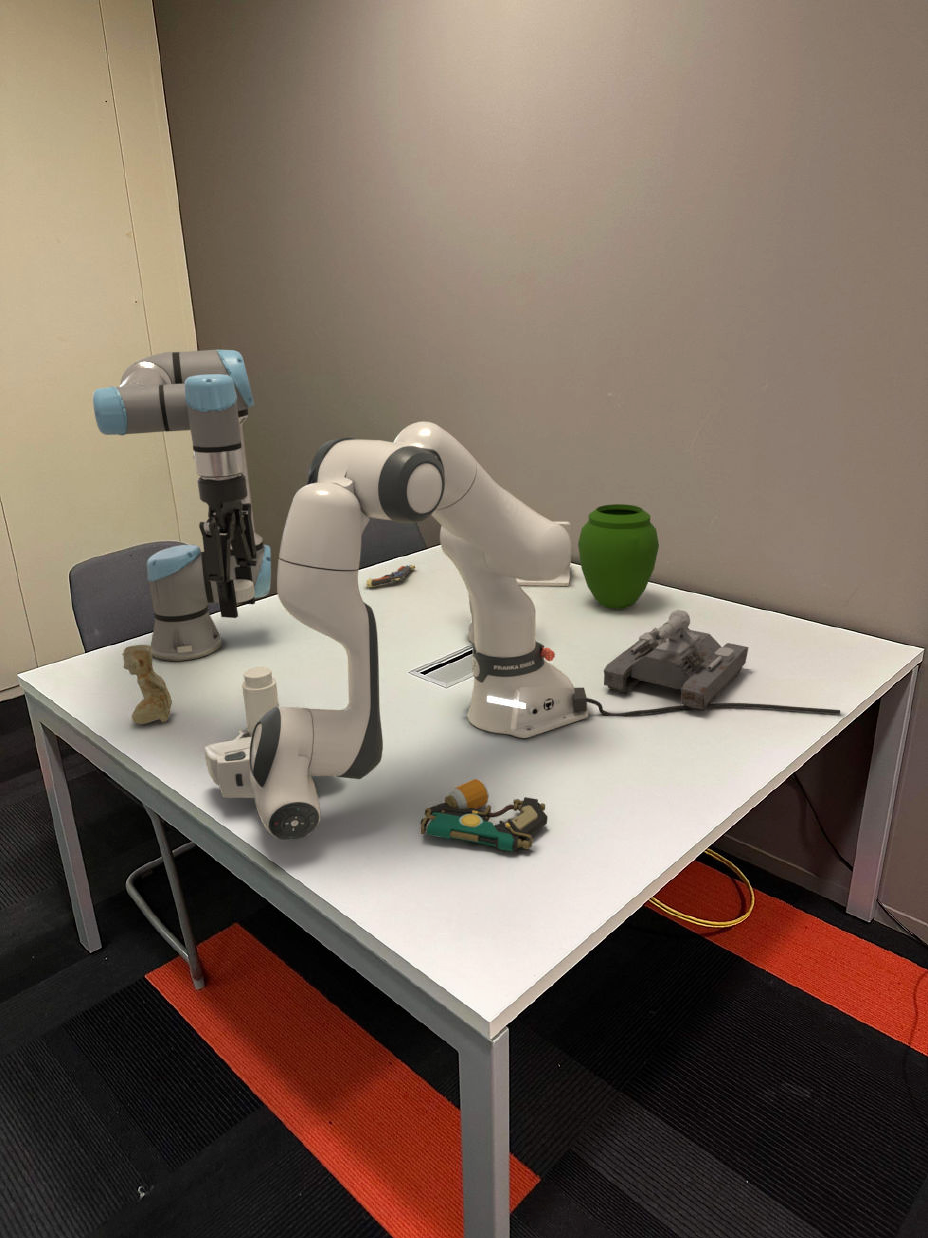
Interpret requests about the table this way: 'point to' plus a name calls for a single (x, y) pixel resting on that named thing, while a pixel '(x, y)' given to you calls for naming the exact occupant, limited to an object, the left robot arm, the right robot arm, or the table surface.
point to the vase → (618, 554)
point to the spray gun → (483, 818)
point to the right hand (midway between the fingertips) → (264, 729)
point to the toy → (678, 662)
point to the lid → (243, 590)
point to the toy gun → (391, 576)
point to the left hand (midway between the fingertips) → (238, 609)
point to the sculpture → (147, 686)
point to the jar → (258, 695)
